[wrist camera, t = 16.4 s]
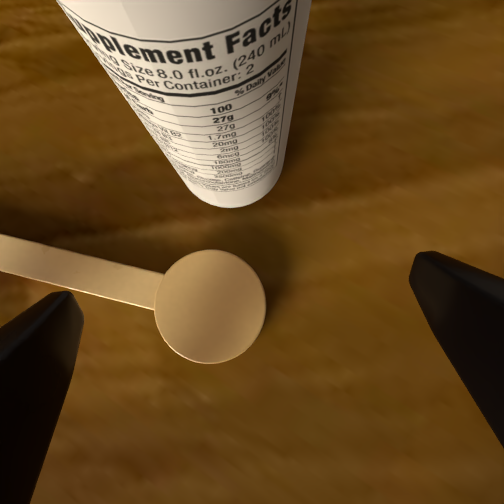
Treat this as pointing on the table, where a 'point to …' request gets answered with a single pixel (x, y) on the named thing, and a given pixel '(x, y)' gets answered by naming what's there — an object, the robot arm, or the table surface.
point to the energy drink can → (205, 82)
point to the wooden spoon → (161, 293)
